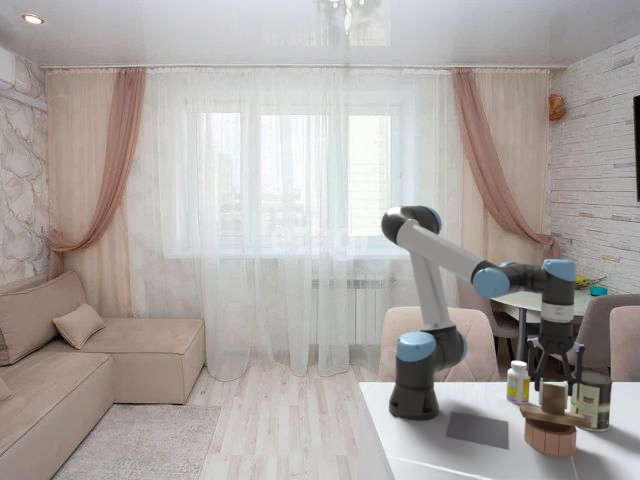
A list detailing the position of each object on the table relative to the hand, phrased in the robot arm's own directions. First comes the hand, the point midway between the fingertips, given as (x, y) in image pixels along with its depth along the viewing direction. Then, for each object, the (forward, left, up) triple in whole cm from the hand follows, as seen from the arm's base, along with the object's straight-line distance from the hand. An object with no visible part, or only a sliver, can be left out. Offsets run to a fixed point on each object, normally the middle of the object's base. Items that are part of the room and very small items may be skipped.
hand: (552, 404), depth 117 cm
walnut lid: (0, -2, -3) cm, 3 cm away
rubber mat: (-18, 0, -11) cm, 21 cm away
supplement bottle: (-7, +25, -11) cm, 29 cm away
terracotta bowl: (0, 0, -11) cm, 11 cm away
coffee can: (+12, +18, -11) cm, 25 cm away
